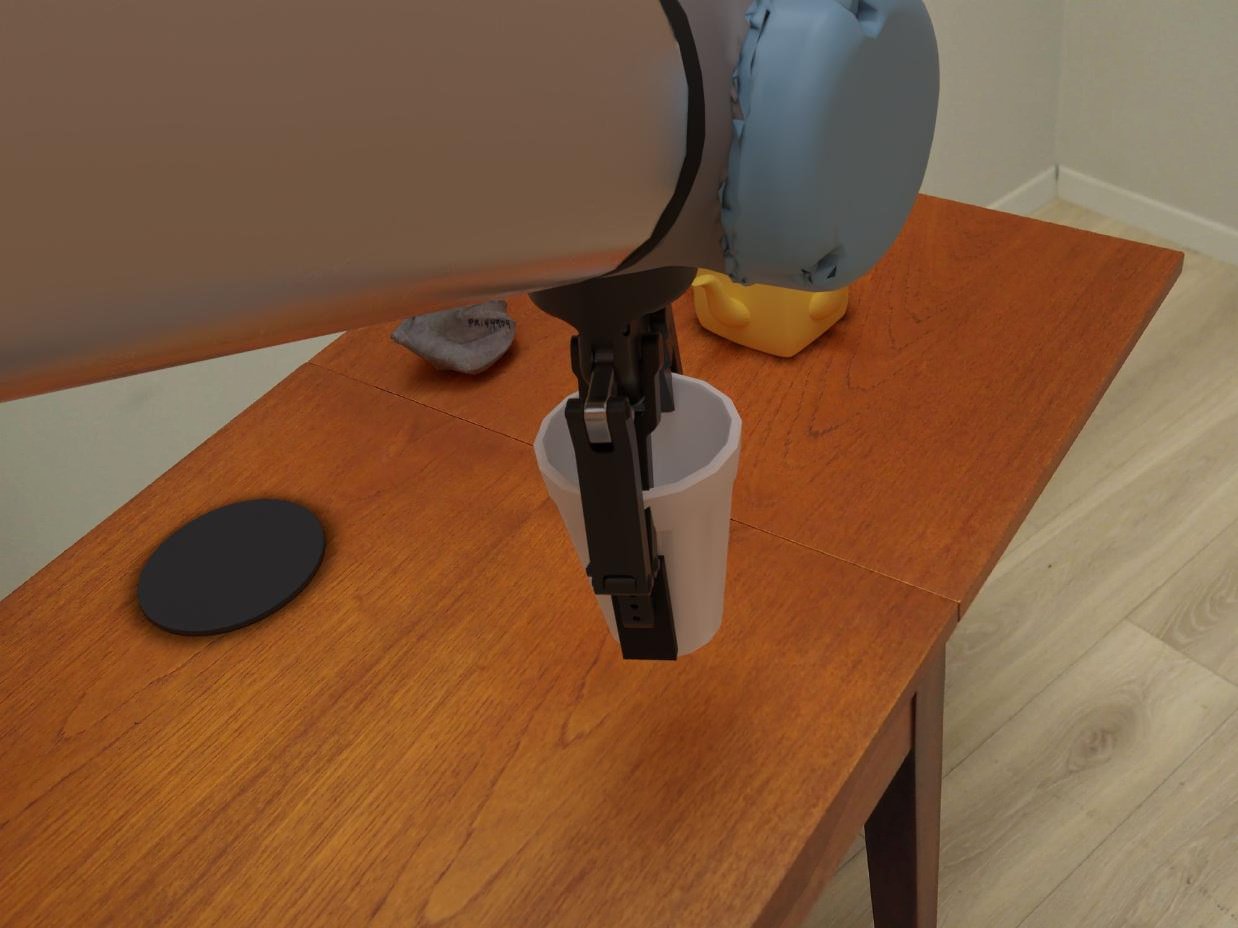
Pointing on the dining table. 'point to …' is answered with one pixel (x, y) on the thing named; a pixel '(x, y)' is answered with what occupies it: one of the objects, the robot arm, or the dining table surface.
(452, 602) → the dining table surface
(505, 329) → the fossil
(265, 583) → the mat
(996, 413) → the dining table surface
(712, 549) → the cup
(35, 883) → the dining table surface
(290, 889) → the dining table surface
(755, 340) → the teapot
